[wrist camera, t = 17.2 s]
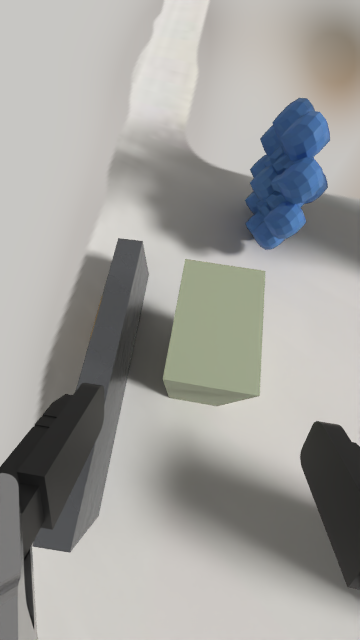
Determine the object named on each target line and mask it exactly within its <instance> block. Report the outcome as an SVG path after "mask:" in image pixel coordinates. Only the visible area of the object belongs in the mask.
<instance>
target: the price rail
mask: <svg viewBox="0 0 360 640" xmlns="http://www.w3.org/2000/svg"><path fill="white" fill-rule="evenodd" d="M148 276H149V273H148V268H147V262H146V257H145V252H144V246H143V241H136V240H128V239H120V238H118V242H117V245H116V249H115V252H114V256H113V260H112V263H111V267H110V270H109V274H108V277H107V281H106V285H105V288H104V292H103V295H102V297H101V301H100V305H99V308H98V312H97V315H96V319H95V322H94V326H93V330H92V333H91V337H90V342H89V346H88V349H87V353H86V356H85V360H84V363H83V367H82V371H81V374H80V378H79V381H78V385H77V388H76V391H77V389H78V388H79V387H80V385H81V384H82V383H90V384H96V385H102V386H104V421H103V425H102V429H101V431H100V434H99V436H98V438H97V440H96V442H95V444H94V446H93V448H92V450H91V452H90V454H89V456H88V458H87V460H86V462H85V464H84V467H83V469H82V471H81V473H80V475H79V477H78V479H77V481H76V483H75V485H74V487H73V489H72V491H71V493H70V495H69V497H68V499H67V501H66V504H65V506H64V508H63V510H62V512H61V514H60V516H59V518H58V520H57V522H56V524H55V526H54V528H53V530H51V529H46V528H40V530H39V532H38V534H37V536H36V538H35V540H34V542H33V547H39V548H46V549H52V550H58V551H64V552H71V551H72V549H73V548H74V547H75V545H76V544H77V543H78V542H79V540H80V539H81V538H82V536H83V535H84V534H85V532H86V531H87V530H88V529H89V527H90V526H91V525H92V523H93V522H94V521H95V520H96V518H97V517H98V515H99V510H100V505H101V501H102V496H103V491H104V486H105V481H106V477H107V472H108V467H109V462H110V458H111V453H112V448H113V443H114V438H115V434H116V429H117V424H118V419H119V414H120V410H121V405H122V400H123V395H124V390H125V386H126V381H127V376H128V371H129V367H130V362H131V357H132V352H133V347H134V343H135V338H136V333H137V328H138V323H139V319H140V314H141V309H142V304H143V300H144V295H145V290H146V285H147V280H148Z"/></svg>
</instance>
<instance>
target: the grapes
mask: <svg viewBox="0 0 360 640" xmlns="http://www.w3.org/2000/svg"><path fill="white" fill-rule="evenodd" d="M260 140H261V142H262V145H263V148H264V150H265V152H266V154H267V155H264V156H263V157H262V158H261V159H260V160H258V161H257V162H256V163H255V164H254V166H253V167H252V168H251V169H250V170H251V173H252V175H253V177H254V179H253V180H252V181H251V182H250V184H251V187H252V189H253V192H252V193H251V194H250V195H249V196H248V197H247V199H246V200H245V201H246V204H247V206H248V207H249V209H250V210H251V212H252V213H253V214H254V215H253V216H252V217H251V218H250V219H249V220H248V221H247V222H246V226H247V228H248V230H249V231H250V232H251V234H252V235H253V237H254V238H255V240H256V241H257V243H258V244H259V245H260V247H262V248H264V249H265V250H267V249H273V248H275V247H276V246H278V245H280V244H281V243H282V242H283V241H284V240H285V239H286V238H289V237H291V236H292V235H294V234H295V233H297V232H298V231H299V230H300V229H301V228H302V227H303V225H304V224H305V223H306V219H305V216H304V213H303V211H302V209H301V207H302V206H303V205H304V204H307V203H311V202H313V201H314V200H316V199H317V198H319V197H320V196H321V195H322V194H323V193H324V191H325V190H326V189H327V188H328V186H327V180H326V177H325V175H324V174H323V171H322V168H321V167H320V166H319V164H318V163H317V162H316V160H314V156H315V155H316V154H318V153H319V152H320V151H321V150H322V149H323V147H324V146H325V145H326V144H327V143H328V142H329V141H330V133H329V128H328V124H327V121H326V119H325V118H324V117H323V115H322V114H321V113H320V112H316V111H315V110H314V108H313V106H312V104H311V103H310V102H309V100H308V99H306V98H298V99H297V100H295V101H294V102H292V103H290V104H289V105H288V106H287V107H286V108H285V109H284V110H283V111H282V112H281V113H280V114H279V115H278V116H277V118H276V119H275V120H274V121H273V126H271V127H270V128H269V129H268V131H267V132H266V133H265V134H264V135H263V136H262V137H261V139H260Z"/></svg>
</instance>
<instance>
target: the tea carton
mask: <svg viewBox="0 0 360 640" xmlns="http://www.w3.org/2000/svg"><path fill="white" fill-rule="evenodd" d="M264 287H265V271H261V270H255V269H248V268H241V267H235V266H228V265H221V264H215V263H208V262H201V261H195V260H188V259H185V264H184V269H183V274H182V280H181V285H180V290H179V296H178V301H177V306H176V311H175V317H174V322H173V327H172V332H171V338H170V343H169V348H168V354H167V359H166V364H165V369H164V375H163V382H164V384H165V387H166V390H167V393H168V396H169V398H173V399H179V400H185V401H190V402H196V403H202V404H207V405H213V406H220V405H224V404H228V403H232V402H236V401H241V400H245V399H249V398H253V397H257V396H260V374H261V352H262V330H263V308H264Z"/></svg>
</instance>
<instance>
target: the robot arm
mask: <svg viewBox="0 0 360 640" xmlns="http://www.w3.org/2000/svg"><path fill="white" fill-rule="evenodd" d="M103 421H104V386H102V385H96V384H90V383H82V384H81V385H80V387H79V388H78V389H77V391H76V392H75V393H74V395H68V394H65V395H64V396H62V397H61V398H59V399H58V400H56V401H55V402H53V403H52V404H51V405H50V407H49V408H48V409H47V410H46V411H45V413H44V414H43V416H42V417H41V418H40V419H39V420H38V421H37V422H36V424H35V426H34V427H32V429H31V430H30V431H29V432H28V434H27V435H26V436H25V437H24V438H23V440H22V441H21V442H20V443H19V445H18V446H17V447H16V448H15V449H14V451H13V452H12V453H11V454H10V456H9V457H8V458H7V459H6V461H5V462H4V463H3V464H2V465H1V467H0V640H38V636H37V624H36V607H35V591H34V575H33V559H32V543H33V542H34V540H35V538H36V536H37V534H38V532H39V530H40V528H46V529H51V530H53V528H54V526H55V524H56V522H57V520H58V518H59V516H60V514H61V512H62V510H63V508H64V506H65V504H66V501H67V499H68V497H69V495H70V493H71V491H72V489H73V487H74V485H75V483H76V481H77V479H78V477H79V475H80V473H81V471H82V469H83V467H84V464H85V462H86V460H87V458H88V456H89V454H90V452H91V450H92V448H93V446H94V444H95V442H96V440H97V438H98V436H99V434H100V431H101V429H102V425H103ZM300 459H301V466H302V469H303V472H304V474H305V477H306V479H307V482H308V485H309V487H310V490H311V492H312V495H313V498H314V500H315V503H316V506H317V508H318V511H319V513H320V516H321V519H322V521H323V524H324V526H325V529H326V532H327V534H328V537H329V539H330V542H331V545H332V547H333V550H334V553H335V555H336V558H337V560H338V563H339V566H340V568H341V571H342V573H343V576H344V579H345V581H346V584H347V586H348V587H350V588H355V589H360V447H359V446H358V445H357V444H356V443H354V442H351V440H350V439H349V437H348V436H347V434H346V432H345V431H344V429H343V428H342V427H341V426H340V425H337V424H331V423H325V422H319V421H316V422H315V423H314V424H313V425H312V428H311V430H310V432H309V434H308V436H307V438H306V441H305V443H304V445H303V447H302V450H301V456H300Z"/></svg>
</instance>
